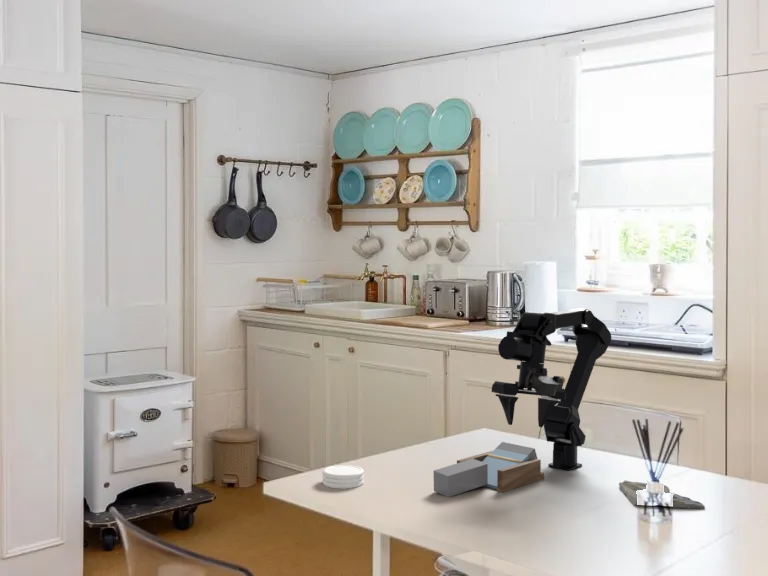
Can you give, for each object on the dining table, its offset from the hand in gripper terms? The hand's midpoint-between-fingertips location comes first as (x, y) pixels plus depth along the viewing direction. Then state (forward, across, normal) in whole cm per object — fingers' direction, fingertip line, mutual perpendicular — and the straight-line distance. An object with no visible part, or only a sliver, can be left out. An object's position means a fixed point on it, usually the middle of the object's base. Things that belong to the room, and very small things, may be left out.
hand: (525, 425), depth 221 cm
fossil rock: (+12, +20, -26) cm, 35 cm away
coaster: (+19, -39, +18) cm, 47 cm away
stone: (+12, -12, 0) cm, 16 cm away
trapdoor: (+12, -3, +3) cm, 13 cm away
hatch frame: (+14, -4, +2) cm, 14 cm away
